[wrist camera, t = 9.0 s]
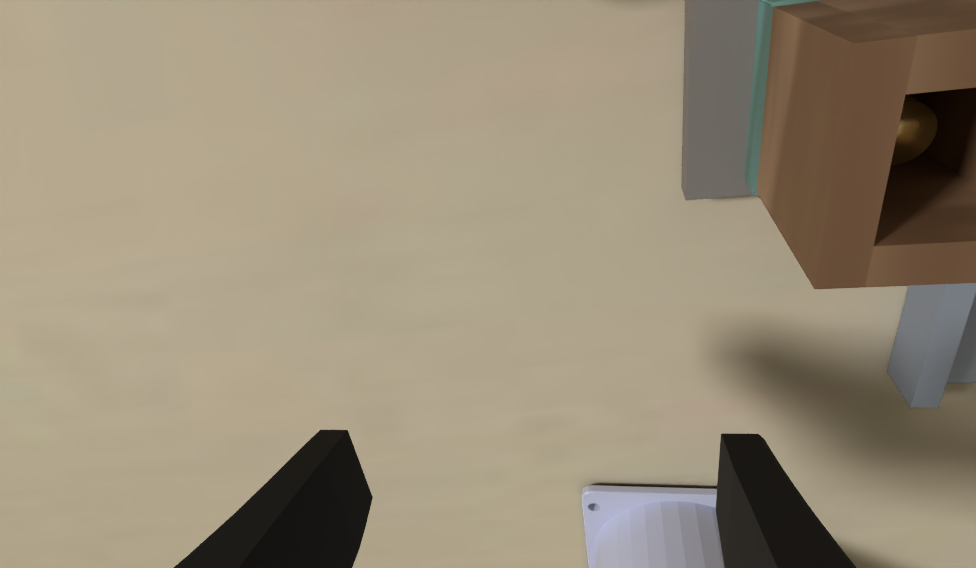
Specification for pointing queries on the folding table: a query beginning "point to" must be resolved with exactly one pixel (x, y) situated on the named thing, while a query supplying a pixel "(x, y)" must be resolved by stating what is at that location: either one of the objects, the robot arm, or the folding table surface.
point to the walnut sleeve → (866, 138)
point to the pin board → (717, 96)
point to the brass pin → (914, 131)
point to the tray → (934, 342)
